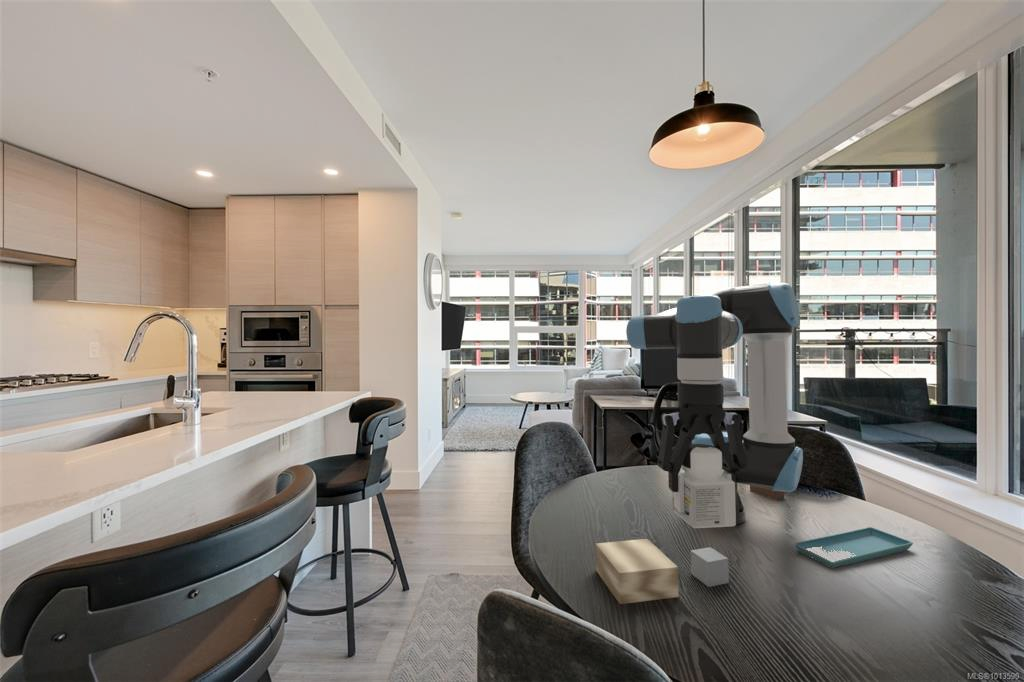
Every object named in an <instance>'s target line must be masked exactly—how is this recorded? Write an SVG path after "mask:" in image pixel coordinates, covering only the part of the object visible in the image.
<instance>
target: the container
mask: <svg viewBox="0 0 1024 682" xmlns="http://www.w3.org/2000/svg"><path fill="white" fill-rule="evenodd" d="M680 473H681V474H683V475H684V512H679V511H678V510H677V509H676V508H675V507H674V492H672V491H671V495H672V497H671V498H672V512H674V513H675V514H676V515H678V517H679V518H680V519H681V520H683V521H685V522H686V523H687V524H688V525H689V526H691V528H693V529H707V528H725V527H726V528H727V527H735V526H736V525H737V524H736V509H735V482H734V481H732V480H730V479H728V478H726V477H724V476H722V475H721V474H722V452H721V451H720V449H718V448H716V447H714V446H711V445H706V444H692V443H691V444H690V446H689V449H688V452H687V454H686V457H685V459H684V462H683V464H682V467H681V469H680Z"/></svg>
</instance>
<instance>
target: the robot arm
mask: <svg viewBox="0 0 1024 682" xmlns="http://www.w3.org/2000/svg"><path fill="white" fill-rule="evenodd" d="M800 321H801V320H800V311H799V304H798V300H797V297H796V294H795V292H794V289H793V287H792V286H791V285H790V284H789V283H787V282H786V283H785V282H774V283H773V282H772V283H771V282H768V283H760V284H754V285H753V284H752V285H743V286H742V285H741V286H736V287H735V286H734V287H733V286H731V287H726V288H720V289H716V290H713V291H711V292H708V293H704V294H702V295H689V296H683V297H680V298H679V299H678V301H676V307H674V308H671V309H668V310H667V309H666V310H664V311H661V312H658V313H654V314H650V315H645V314H642V315H639V316H638V315H637V316H632V317H630V319H628V322H627V324H626V330H625V331H626V332H625V333H626V340H627V342H628V344H629V346H630V347H631V348H633V349H637V350H645V351H646V350H661V349H662V350H668V349H674V350H675V349H676V352H677V353H676V358H677V359H676V360H677V361H676V362H677V363H676V367H677V368H676V369H677V370H676V371H677V375H676V377H677V379H678V380H679V381H680V382H678V384H677V404H678V407H677V409H676V411H675V412H672V413H661V415H660V420H661V425H662V429H661V436H660V443H659V451H658V458H657V467H658V468H660V469H661V470H662V471H664V472H667V473H668V489H669V490H670V491H671V493H672V492H674V507H675V508H676V509H677V510H678V511H679V512H684V475H683V474H681V473H680V470H682V464H683V462H684V459H685V457H686V454H687V452H688V449H689V446H690V444H706V445H711V446H714V447H716V448H718V449H720V451H721V452H722V474H721V475H722V476H724V477H726V478H728V479H730V480H732V481H734V482H735V509H736V525H740V524H742V523H744V522H745V521H746V510H745V508H744V505H743V502H742V499H741V497H740V494H739V491H738V484H742V485H747V486H750V485H751V486H756V487H761V488H767V489H771V490H773V491H776V490H777V491H783V492H784V493H785V492H786V493H793V492H794V491H796V489H797V487H798V485H799V482H800V478H801V473H802V469H803V462H804V461H803V460H804V451H803V449H802V447H799V446H796V439H795V438H794V437H793V436H792V435H791V434H790V433H789V431H788V429H789V428H788V394H787V393H788V392H787V359H786V358H787V357H786V356H787V355H786V354H787V353H786V341H787V339H788V338H790V337H791V336H792V335H793V328H797V327H798V326H800ZM741 338H743V339H744V340H745V341H746V342H747V370H748V371H747V374H748V375H747V377H748V416H749V417H748V419H749V420H748V421H749V422H748V423H749V429H748V431H746V432H745V433H744V434H743V436H742V431H741V423H742V415H741V414H740V413H736V412H732V411H730V412H726V411H725V409H724V407H723V406H724V397H725V395H724V385H723V383H721V381H723V380H724V362H723V360H724V359H723V350H726V349H727V348H731V347H733V346H735V345H736V344H737V343H738V342H739V341H740V339H741ZM677 421H679V423H681V427H680V430H679V436H678V439H677V441H676V443H675V446H674V448H673V445H674V437H675V426H676V425H677ZM723 421H724V423H725V428H726V431H722V429H721V426H720V425H721V423H722V422H723ZM742 437H743V438H742Z"/></svg>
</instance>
